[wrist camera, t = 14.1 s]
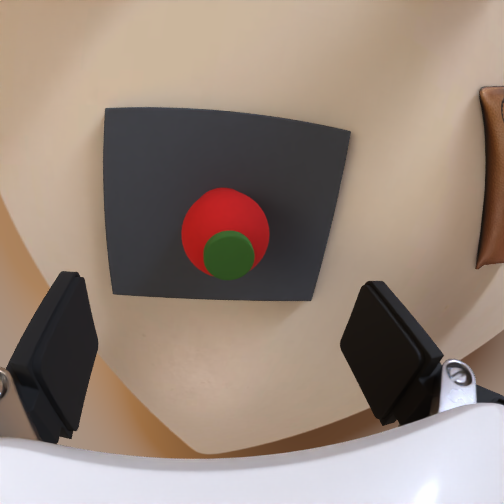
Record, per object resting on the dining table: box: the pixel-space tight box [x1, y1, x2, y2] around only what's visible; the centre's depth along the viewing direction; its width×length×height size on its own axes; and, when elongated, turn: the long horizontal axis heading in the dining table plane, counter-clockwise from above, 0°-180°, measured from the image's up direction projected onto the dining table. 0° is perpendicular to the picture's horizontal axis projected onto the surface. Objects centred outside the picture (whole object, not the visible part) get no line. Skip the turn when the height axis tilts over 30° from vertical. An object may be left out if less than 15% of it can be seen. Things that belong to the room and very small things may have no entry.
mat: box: [103, 107, 351, 301], centre depth 18 cm, size 14×12×1 cm
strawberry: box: [181, 188, 269, 280], centre depth 15 cm, size 4×4×5 cm
